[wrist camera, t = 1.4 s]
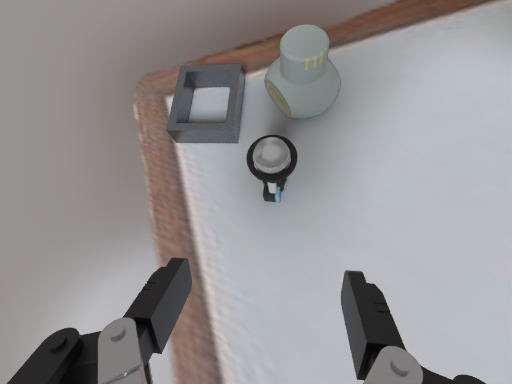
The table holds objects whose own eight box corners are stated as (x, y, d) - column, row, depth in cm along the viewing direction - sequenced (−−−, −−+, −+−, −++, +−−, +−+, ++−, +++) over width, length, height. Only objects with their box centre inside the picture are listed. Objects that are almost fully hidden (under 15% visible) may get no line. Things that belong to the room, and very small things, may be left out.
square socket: (244, 80, 41) (241, 63, 38) (237, 143, 37) (232, 130, 34) (188, 82, 43) (180, 66, 39) (176, 142, 39) (166, 130, 36)
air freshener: (260, 88, 40) (251, 31, 31) (302, 63, 41) (306, 0, 32) (298, 135, 37) (301, 87, 27) (344, 108, 37) (363, 51, 28)
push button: (260, 158, 36) (251, 117, 27) (297, 162, 35) (301, 120, 26) (253, 202, 34) (241, 174, 25) (292, 206, 33) (294, 179, 24)
